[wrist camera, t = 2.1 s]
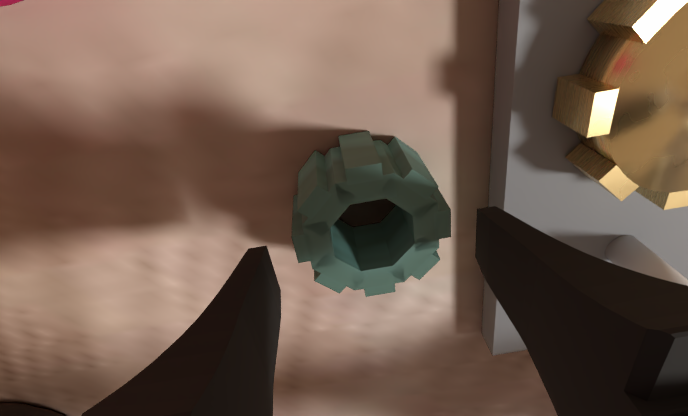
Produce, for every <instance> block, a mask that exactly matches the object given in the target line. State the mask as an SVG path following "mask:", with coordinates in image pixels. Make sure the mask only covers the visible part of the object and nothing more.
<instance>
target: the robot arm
mask: <svg viewBox="0 0 688 416" xmlns="http://www.w3.org/2000/svg"><path fill="white" fill-rule="evenodd" d="M475 257H476V259H477V262H478V264H479V266H480V269H481V271H482V273H483V275H484V277H485V280H486V282H487V283H488V285H489V287H490V288H491V290H492V292H493V293H494V295H495V297H496V298H497V300H498V301H499V303H500V305H501V306H502V308H503V309H504V311H505V313H506V314H507V316H508V317H509V319H510V321H511V322H512V324H513V325H514V327H515V329H516V330H517V332H518V333H519V335H520V337H521V339H522V340H523V342H524V344H525V346H526V348H527V350H528V352H529V354H530V356H531V358H532V360H533V362H534V364H535V366H536V368H537V370H538V372H539V375H540V377H541V379H542V381H543V383H544V386H545V388H546V390H547V392H548V394H549V396H550V399H551V401H552V403H553V405H554V408H555V410H556V412H557V415H558V416H688V286H687V285H683V284H679V283H675V282H671V281H667V280H663V279H660V278H656V277H652V276H649V275H646V274H643V273H639V272H636V271H633V270H630V269H627V268H624V267H621V266H618V265H615V264H612V263H610V262H607V261H604V260H602V259H599V258H597V257H594V256H592V255H589V254H587V253H585V252H582V251H580V250H578V249H575V248H573V247H571V246H569V245H567V244H565V243H563V242H561V241H559V240H557V239H555V238H553V237H551V236H549V235H547V234H545V233H543V232H541V231H539V230H538V229H536V228H534V227H532V226H530V225H529V224H527V223H525V222H523V221H521V220H520V219H518V218H516V217H514V216H513V215H511V214H509V213H507V212H506V211H504V210H502V209H500V208H498V207H496V206H492V207H486V208H481V209H477V226H476V253H475ZM280 321H281V290H280V287H279V284H278V281H277V278H276V274H275V271H274V268H273V265H272V262H271V259H270V255H269V252H268V249H267V246H261V247H256V248H250V249H248V250H247V252H246V253H245V255H244V256H243V258H242V259H241V261H240V262H239V264H238V265H237V267H236V268H235V270H234V271H233V273H232V274H231V276H230V277H229V278H228V280H227V281H226V283H225V284H224V285H223V287H222V288H221V290H220V291H219V292H218V294H217V295H216V296H215V298H214V299H213V300H212V302H211V303H210V304H209V305H208V307H207V308H206V309H205V310H204V312H203V313H202V314H201V315H200V316H199V317H198V319H197V320H196V321H195V322H194V323H193V324H192V325H191V326H190V327H189V328H188V329H187V330H186V331H185V333H184V334H183V335H182V336H181V337H180V338H179V339H178V340H176V341H175V342H174V343H173V344H172V345H171V346H170V347H169V348H168V349H167V350H166V351H165V352H163V353H162V354H161V355H160V356H159V357H158V358H157V359H156V360H155V361H153V362H152V363H151V364H150V365H149V366H147V367H146V368H145V369H144V370H143V371H141V372H140V373H139V374H138V375H136V376H135V377H134V378H132V379H131V380H130V381H129V382H127V383H126V384H125V385H123V386H122V387H121V388H119V389H118V390H116V391H115V392H114V393H112V394H111V395H109V396H108V397H106V398H105V399H103V400H102V401H101V402H99V403H98V404H96V405H95V406H93V407H92V408H90V409H89V410H87V411H86V412H84V413H83V414H82V416H273V383H274V372H275V364H276V355H277V347H278V339H279V330H280Z"/></svg>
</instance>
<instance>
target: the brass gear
mask: <svg viewBox="0 0 688 416" xmlns="http://www.w3.org/2000/svg"><path fill="white" fill-rule="evenodd" d="M587 20H588V21H589V22H590V24H591V25H592V26H593V27H594V28H595V29H596V30H597V31H598V33H599V34H600V35H599V36H598V37H597V39H596V40H595V42H594V44H593V45H592V47H591V49H590V51H589V52H588V54H587V56H586V58H585V60H584V63H583V65H582V67H581V70H580V72H579V74H573V75H567V76H561V77H558V78H557V86H556V93H555V100H554V108H553V115H552V117H553V118H554V119H556V120H558V121H559V122H561V123H563V124H564V125H566V126H568V127H570V128H571V129H573V130H575V131H576V133H577V136H578V138H579V140H580V142H581V143H579V144H578V145H577V146H576V147H575V148H573V149H572V150H571V151H570V152H569V153H568V154H567V155H566V156H565V158H567V159H568V160H569V161H570V162H571V163H572V164H573V165H575V166H576V167H577V168H578V169H579V170H580V171H581V172H582V173H584V174H585V175H586V176H587V177H589V178H590V179H591V180H593V181H594V182H595V183H597V184H598V185H600V186H601V187H602V188H604V189H605V190H606V191H608V192H609V193H611V194H612V195H613V196H615V197H616V198H618V199H619V200H620V201H623V200H624V199H625V198H626V197H627V196H629V195H630V194H631V193H632V192H633V191H636V192H637V193H639V194H640V195H642V196H643V197H645V198H646V199H648V200H649V201H651V202H652V203H654V204H655V205H657V206H658V207H660V208H661V209H663V210H667V209H673V208H679V207H685V206H688V0H604V1H603V2H602V3H601V4H600V5H599V7H598V8H597V9H596V10H595V11H594V12H593V13H592V14H591V15H590V16H589V17H588V18H587Z"/></svg>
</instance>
